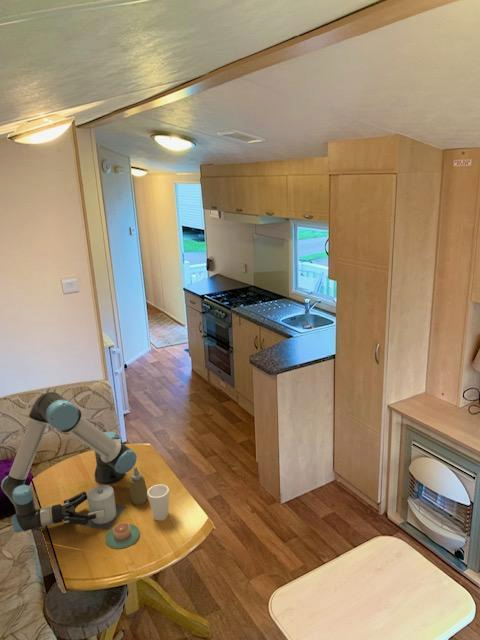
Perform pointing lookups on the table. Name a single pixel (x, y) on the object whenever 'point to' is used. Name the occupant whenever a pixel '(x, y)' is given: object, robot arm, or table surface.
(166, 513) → the foam cup
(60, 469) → the table surface
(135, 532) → the green and pink dish
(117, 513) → the mat
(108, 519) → the lidded canister
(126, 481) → the table surface
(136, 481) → the squeeze bottle
